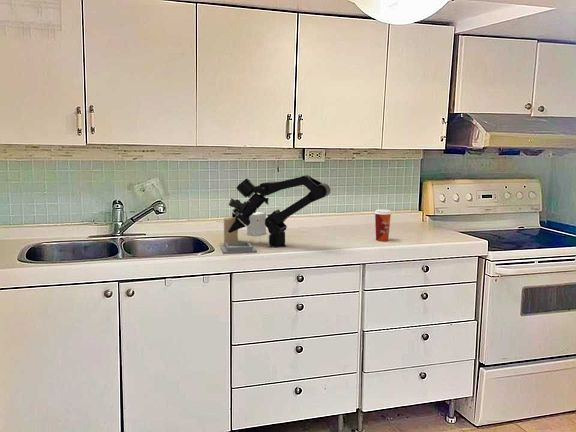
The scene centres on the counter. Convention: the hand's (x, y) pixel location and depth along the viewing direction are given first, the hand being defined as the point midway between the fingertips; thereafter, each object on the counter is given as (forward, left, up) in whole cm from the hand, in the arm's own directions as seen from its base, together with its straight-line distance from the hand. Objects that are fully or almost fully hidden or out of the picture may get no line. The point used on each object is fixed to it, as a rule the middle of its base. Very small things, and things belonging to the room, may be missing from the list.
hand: (227, 230), depth 249 cm
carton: (-1, 0, -7) cm, 7 cm away
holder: (-3, +11, -7) cm, 13 cm away
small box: (-16, -23, -7) cm, 29 cm away
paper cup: (-71, +2, -7) cm, 72 cm away
